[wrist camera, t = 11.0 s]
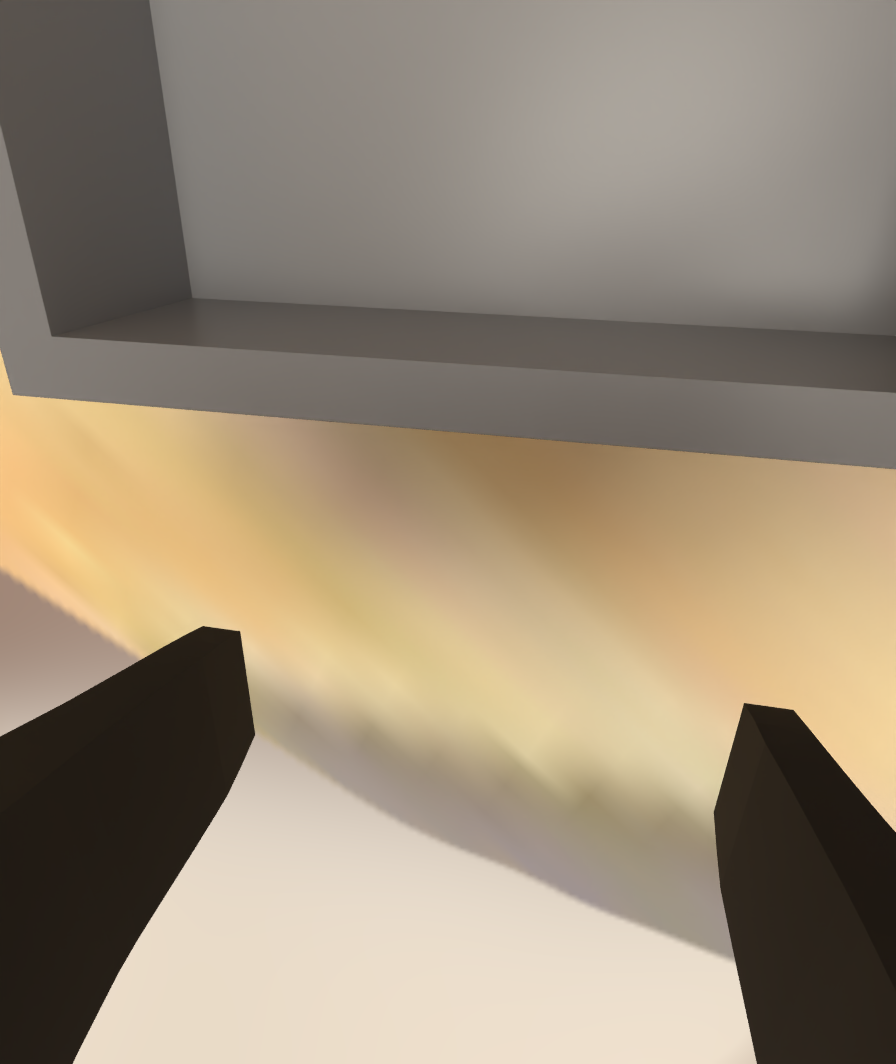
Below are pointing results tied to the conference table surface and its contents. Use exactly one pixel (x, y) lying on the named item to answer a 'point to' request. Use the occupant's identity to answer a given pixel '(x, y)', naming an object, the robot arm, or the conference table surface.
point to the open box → (461, 216)
